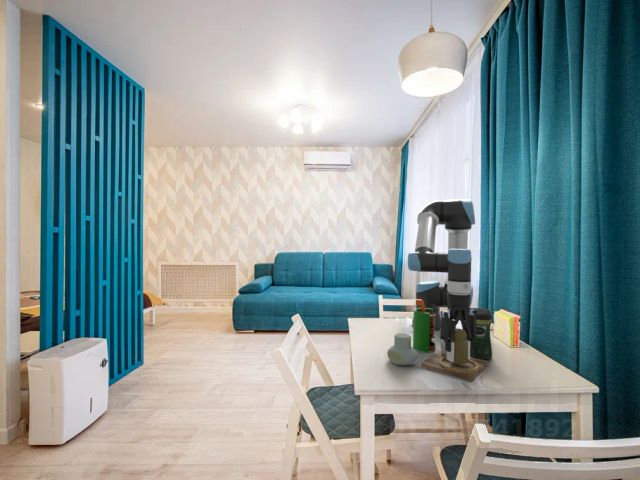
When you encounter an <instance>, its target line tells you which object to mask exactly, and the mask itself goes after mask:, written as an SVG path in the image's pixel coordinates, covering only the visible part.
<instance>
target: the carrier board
mask: <svg viewBox="0 0 640 480" xmlns="http://www.w3.org/2000/svg"><path fill="white" fill-rule="evenodd" d="M440 342H441V343H440V350H438V351H437V352H436V353H433V354H432V355H430V356H429V357H427V358H426V359H424V360H422V361H421V362H420V368H423V369H426V370H429V371H430V370H431V371H433V372H437V373H439V374H440V373H441V374H443V375H447V376H451V377H454V378H457V379H461V380H463V381H467V382H470V383H472V382H474V380H475V379H476V378H477V377H478V376H479V375H480V374H481V373H482V372H483V371H484V370H485V369H486V368H487V367H488V366H489V360H488V361H487V360H485V359H476V358H472V357H470V360H468V363H467V364H456V363H453V362H451V361H449V360H447V351H446V350H445V341H444V340H441V341H440Z"/></svg>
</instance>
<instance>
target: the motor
mask: <svg viewBox="0 0 640 480" xmlns="http://www.w3.org/2000/svg"><path fill="white" fill-rule="evenodd" d="M416 305H421V308H416V307H415V308H413V318H414V322H413V326H412V328H413V329H412V332H413V333H412V348H414V349H415V350H416V351H417V352H422V353H431V352H435V351H436V350H437V349H436V342H434V341H433V339H435V338H436V335H435V334H436V330H435V322H434V321H435V318H433V317H436V315H435V314H434V313H433V309H430V308H425V305H424V302H423V300H421V299H416V298H415V306H416Z"/></svg>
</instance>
